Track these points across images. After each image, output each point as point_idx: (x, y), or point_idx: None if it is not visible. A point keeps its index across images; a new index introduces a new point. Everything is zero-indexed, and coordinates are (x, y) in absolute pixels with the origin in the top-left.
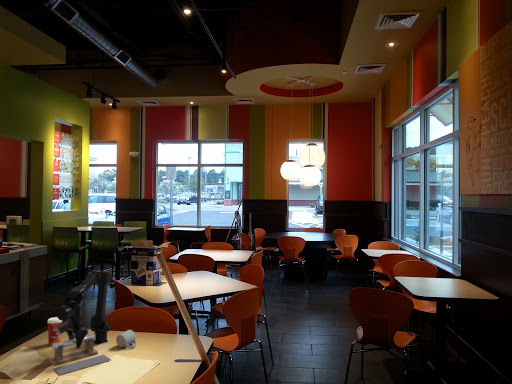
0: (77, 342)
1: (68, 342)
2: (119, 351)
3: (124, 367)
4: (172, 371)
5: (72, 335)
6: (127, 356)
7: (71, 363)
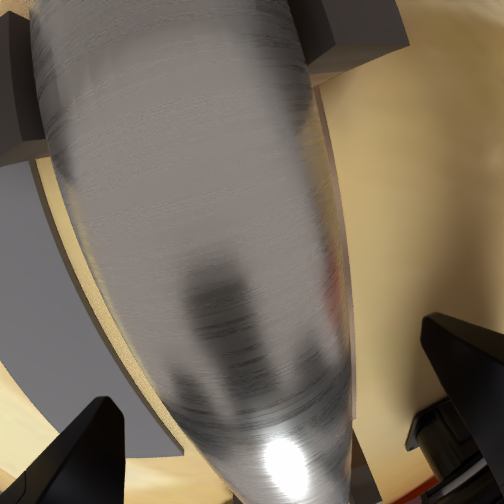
0: (32, 479)
1: (148, 372)
2: (215, 490)
3: (10, 447)
4: (3, 484)
5: (500, 430)
6: (128, 492)
7: (50, 242)
